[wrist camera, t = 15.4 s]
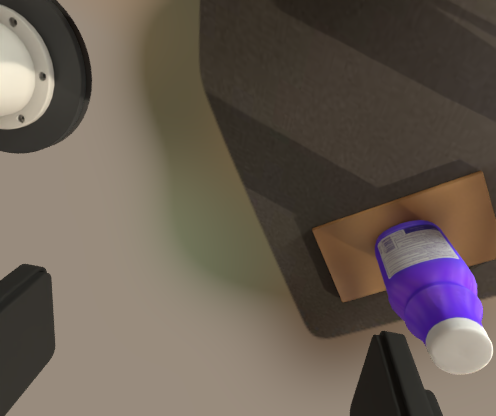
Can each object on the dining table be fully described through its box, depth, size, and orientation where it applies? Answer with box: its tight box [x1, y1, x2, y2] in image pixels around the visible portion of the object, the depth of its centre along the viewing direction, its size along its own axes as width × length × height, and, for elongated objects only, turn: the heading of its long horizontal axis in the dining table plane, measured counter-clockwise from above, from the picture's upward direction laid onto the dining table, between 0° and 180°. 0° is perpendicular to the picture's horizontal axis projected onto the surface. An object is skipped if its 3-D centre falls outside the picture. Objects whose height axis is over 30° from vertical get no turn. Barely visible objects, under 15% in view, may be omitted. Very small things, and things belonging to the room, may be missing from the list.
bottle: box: [375, 220, 493, 375], centre depth 36 cm, size 7×6×17 cm
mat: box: [312, 171, 496, 302], centre depth 44 cm, size 18×10×1 cm, turn 114°
